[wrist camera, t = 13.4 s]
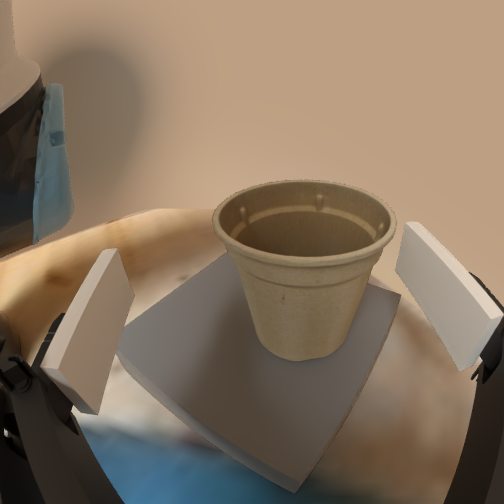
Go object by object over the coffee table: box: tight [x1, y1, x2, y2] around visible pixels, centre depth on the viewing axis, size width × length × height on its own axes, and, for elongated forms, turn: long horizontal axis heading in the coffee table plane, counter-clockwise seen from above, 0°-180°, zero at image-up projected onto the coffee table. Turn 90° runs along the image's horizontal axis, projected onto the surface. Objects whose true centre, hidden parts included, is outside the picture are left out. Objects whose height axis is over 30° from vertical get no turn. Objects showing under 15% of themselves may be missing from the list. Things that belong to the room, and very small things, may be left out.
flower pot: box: [212, 180, 397, 362], centre depth 17 cm, size 9×9×9 cm
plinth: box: [115, 252, 401, 494], centre depth 21 cm, size 16×16×4 cm
